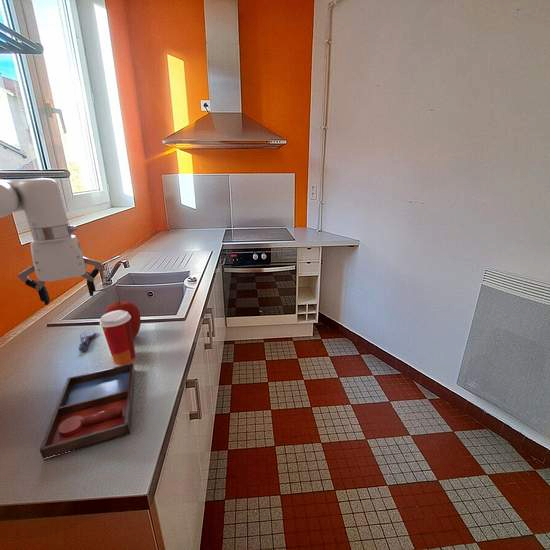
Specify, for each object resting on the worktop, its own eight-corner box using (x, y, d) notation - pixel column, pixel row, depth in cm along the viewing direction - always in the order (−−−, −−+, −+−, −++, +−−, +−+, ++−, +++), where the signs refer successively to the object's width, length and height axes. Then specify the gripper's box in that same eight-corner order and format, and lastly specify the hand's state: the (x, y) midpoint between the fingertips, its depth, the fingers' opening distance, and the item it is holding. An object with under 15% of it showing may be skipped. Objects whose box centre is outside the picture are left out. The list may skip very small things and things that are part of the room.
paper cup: (127, 348, 91) (117, 307, 86) (145, 354, 88) (136, 312, 83) (103, 363, 85) (91, 319, 80) (122, 370, 81) (110, 325, 76)
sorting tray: (43, 460, 57) (39, 450, 56) (70, 386, 76) (67, 377, 75) (130, 434, 62) (127, 424, 61) (135, 371, 81) (133, 362, 80)
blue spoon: (91, 351, 90) (89, 345, 90) (74, 354, 89) (72, 348, 88) (97, 332, 101) (95, 326, 100) (82, 334, 99) (80, 329, 99)
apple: (151, 333, 99) (143, 295, 94) (125, 350, 90) (115, 308, 86) (129, 327, 103) (120, 290, 98) (102, 342, 95) (92, 302, 90)
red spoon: (124, 407, 68) (122, 400, 67) (122, 421, 64) (120, 414, 63) (62, 423, 64) (60, 416, 63) (57, 440, 60) (54, 432, 59)
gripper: (93, 226, 78) (107, 286, 84) (8, 235, 71) (31, 301, 76) (93, 231, 72) (108, 296, 78) (1, 241, 64) (25, 312, 70)
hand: (70, 298), depth 77 cm, fingers open, 9 cm apart
